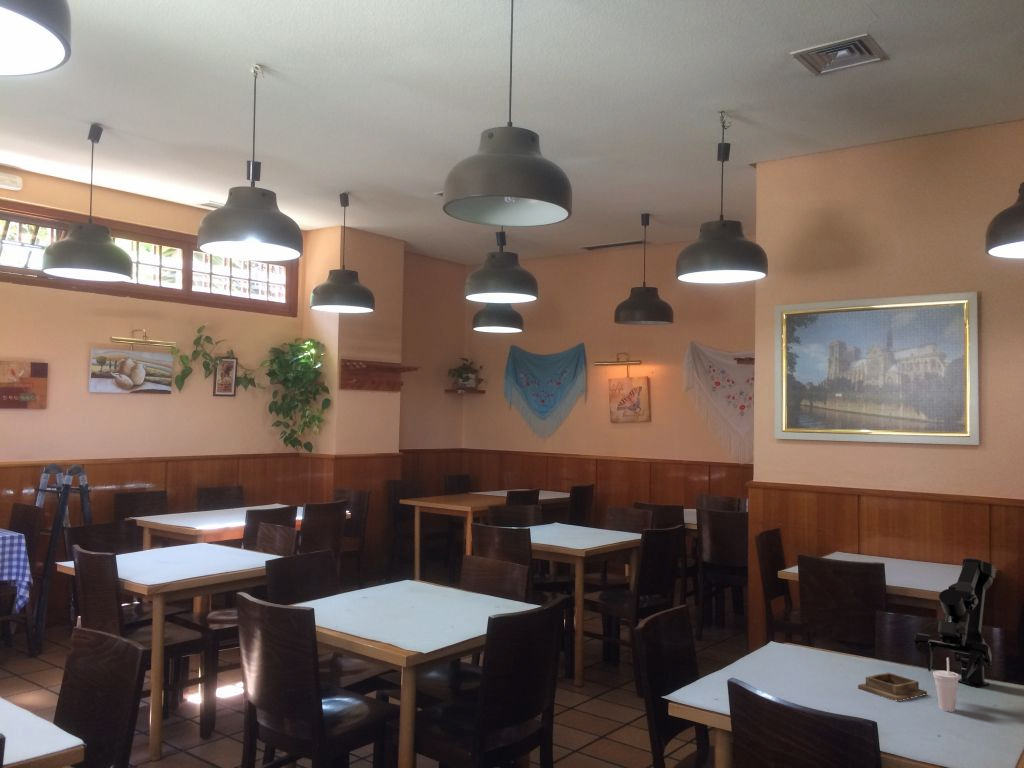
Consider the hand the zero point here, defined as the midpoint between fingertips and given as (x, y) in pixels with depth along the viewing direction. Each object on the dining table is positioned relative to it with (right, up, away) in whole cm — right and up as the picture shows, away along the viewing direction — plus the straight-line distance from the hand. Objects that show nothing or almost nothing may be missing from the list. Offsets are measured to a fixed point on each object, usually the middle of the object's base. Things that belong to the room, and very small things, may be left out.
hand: (947, 674), depth 217 cm
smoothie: (-1, -9, -2) cm, 10 cm away
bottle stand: (-9, -10, +13) cm, 19 cm away
